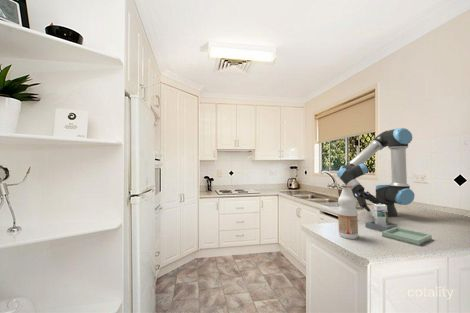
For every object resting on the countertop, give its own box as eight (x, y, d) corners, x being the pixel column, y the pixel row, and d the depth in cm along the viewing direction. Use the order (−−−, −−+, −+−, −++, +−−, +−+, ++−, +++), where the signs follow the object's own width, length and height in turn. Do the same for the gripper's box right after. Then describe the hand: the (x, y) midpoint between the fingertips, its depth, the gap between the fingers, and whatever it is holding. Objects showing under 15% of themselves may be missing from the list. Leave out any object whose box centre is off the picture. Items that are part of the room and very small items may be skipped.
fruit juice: (337, 237, 117) (336, 185, 118) (339, 232, 125) (338, 184, 126) (357, 240, 112) (355, 186, 113) (358, 235, 120) (357, 184, 121)
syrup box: (377, 229, 130) (376, 205, 131) (374, 226, 136) (373, 203, 137) (388, 230, 128) (387, 205, 129) (385, 227, 134) (384, 203, 135)
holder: (375, 224, 140) (375, 219, 141) (397, 229, 130) (396, 224, 130) (365, 227, 134) (365, 222, 134) (387, 232, 124) (386, 227, 124)
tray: (396, 231, 125) (395, 227, 125) (431, 239, 112) (431, 234, 112) (382, 236, 117) (382, 231, 117) (418, 245, 103) (418, 240, 104)
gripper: (362, 189, 154) (386, 215, 141) (340, 192, 141) (364, 220, 128) (369, 182, 150) (395, 208, 136) (348, 184, 137) (374, 213, 124)
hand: (380, 214), depth 132 cm, fingers open, 13 cm apart
